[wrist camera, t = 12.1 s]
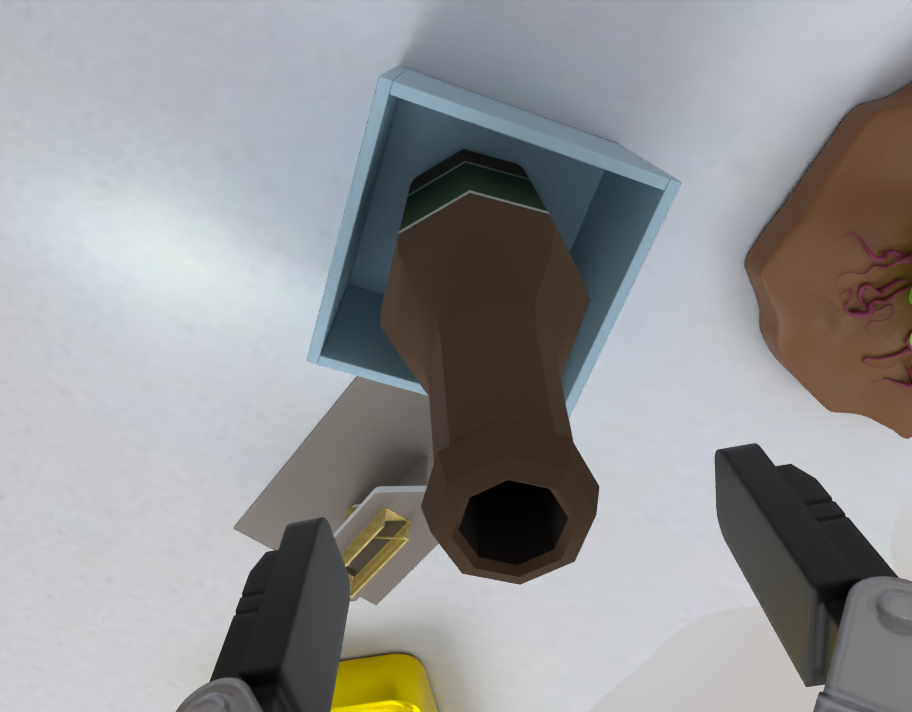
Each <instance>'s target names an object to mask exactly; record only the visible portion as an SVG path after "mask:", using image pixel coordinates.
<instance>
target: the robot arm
mask: <svg viewBox="0 0 912 712" xmlns="http://www.w3.org/2000/svg"><path fill="white" fill-rule="evenodd" d="M715 481H716V510H717V517H718V522H719V526H720V529H721V532H722V535H723V537H724V539H725V541H726V543H727V545H728V547H729V549H730V551H731V552H732V554H733V556H734V558H735V560H736V561H737V563H738V565H739V567H740V569H741V570H742V572H743V574H744V576H745V578H746V579H747V581H748V583H749V585H750V587H751V589H752V590H753V592H754V594H755V596H756V598H757V599H758V601H759V603H760V605H761V607H762V608H763V610H764V612H765V614H766V616H767V617H768V619H769V621H770V623H771V625H772V626H773V628H774V630H775V632H776V633H777V635H778V637H779V639H780V641H781V643H782V645H783V646H784V648H785V650H786V652H787V654H788V655H789V657H790V659H791V661H792V663H793V664H794V666H795V668H796V670H797V672H798V673H799V675H800V677H801V679H802V680H803V682H804V684H805V686H806V687H810V686H817V685H824V684H825V687H824V691H823V692H819V695H818V697H817V700H816V704H815V708H814V711H813V712H912V581H909V580H906V579H901V578H899V577H898V576H897V575H896V574H895V573H894V571H893V570H892V569H891V568H890V567H889V565H888V564H887V563H886V562H885V561H884V560H883V558H882V557H881V556H880V555H879V554H878V552H877V551H876V550H875V549H874V548H873V546H872V545H871V544H870V543H869V542H868V540H867V539H866V538H865V537H864V536H863V534H862V533H861V532H860V531H859V530H858V528H857V527H856V526H855V525H854V524H853V522H852V521H851V520H850V519H849V518H848V517H847V518H846V516H845V513H844V512H843V511H842V509H841V508H840V507H839V506H838V505H837V503H836V502H835V501H834V502H833V501H832V497H831V496H830V495H829V494H828V493H827V491H826V490H825V489H824V488H823V487H822V485H821V484H820V483H819V482H818V481H817V480H816V478H814V477H812V476H811V475H809V474H807V473H805V472H804V471H802V470H800V469H799V468H797V467H795V466H794V465H792V464H787V465H781V466H775V465H774V464H773V463H772V461H771V460H770V459H769V457H768V456H767V455H766V454H765V452H764V451H763V450H762V448H761V447H760V446H759V445H758V444H756V443H753V444H747V445H742V446H736V447H730V448H724V449H718V450H717V451H716V453H715ZM349 601H350V584H349V577H348V573H347V569H346V567H345V564H344V561H343V559H342V556H341V553H340V551H339V548H338V545H337V543H336V540H335V538H334V535H333V532H332V530H331V527H330V524H329V522H328V520H327V519H326V518H325V517H320V518H314V519H308V520H303V521H297V522H291V523H289V524H288V525H287V526H286V528H285V531H284V534H283V537H282V540H281V543H280V546H279V550H275V551H269V552H266V553H265V554H264V556H263V557H262V558H261V559H260V560H259V562H258V563H257V564H256V565H255V567H254V568H253V569H252V570H251V572H250V573H249V576H248V579H247V581H246V584H245V587H244V590H243V592H242V598H240V601H239V603H238V606H237V609H236V616H234V617H233V620H232V622H231V625H230V628H229V630H228V633H227V636H226V639H225V641H224V644H223V647H222V649H221V652H220V655H219V658H218V660H217V663H216V666H215V668H214V671H213V674H212V677H211V679H210V682H209V683H207V684H205V685H203V686H202V687H200V688H198V689H197V690H196V691H194V692H193V693H192V694H191V695H190V696H189V697H187V698H186V699H185V700H184V702H183V703H182V704H181V705H180V706H179V708H178V709H177V711H176V712H331V706H332V700H333V694H334V688H335V683H336V677H337V671H338V665H339V659H340V654H341V648H342V642H343V636H344V630H345V625H346V619H347V613H348V607H349Z"/></svg>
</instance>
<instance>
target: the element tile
mask: <svg viewBox="0 0 912 712" xmlns="http://www.w3.org/2000/svg"><path fill="white" fill-rule="evenodd" d="M331 712H438V709H437V706H436V703H435V700H434V697H433V693H432V690H431V687H430V684H429V680H428V677H427V674H426V671H425V669H424V667H423V665H422V663H421V662H420V661H419V660H418V659H416V658H414V657H412V656H410V655H405V654H388V655H381V656H374V657H367V658H360V659H353V660H346V661H339V665H338V671H337V677H336V683H335V688H334V694H333V700H332V706H331Z"/></svg>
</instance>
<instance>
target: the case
mask: <svg viewBox="0 0 912 712" xmlns="http://www.w3.org/2000/svg"><path fill="white" fill-rule="evenodd" d="M462 149H465V150H469V151H472V152H476V153H480V154H483V155H487V156H490V157H494V158H498V159H501V160H505V161H508V162H512V163H516V164H519V165H520V166H521V167H522V168H523V169H524V171H525V173H526V174H527V176H528V178H529V180H530V181H531V183H532V185H533V186H534V188H535V190H536V192H537V193H538V195H539V197H540V199H541V200H542V202H543V204H544V205H545V207H546V209H547V211H548V212H549V214H550V216H551V218H552V220H553V222H554V224H555V226H556V228H557V230H558V232H559V233H560V235H561V237H562V239H563V241H564V243H565V245H566V247H567V249H568V251H569V253H570V255H571V257H572V259H573V261H574V263H575V265H576V267H577V268H578V270H579V272H580V274H581V276H582V278H583V280H584V282H585V285H586V288H587V291H588V294H589V297H590V303H589V305H588V308H587V311H586V313H585V316H584V319H583V321H582V324H581V326H580V329H579V332H578V334H577V337H576V339H575V342H574V344H573V347H572V350H571V352H570V355H569V357H568V360H567V363H566V365H565V368H564V370H563V373H562V376H561V383H562V388H563V393H564V398H565V403H566V408H567V413H568V418H570V415H571V413H572V411H573V409H574V407H575V405H576V403H577V401H578V399H579V397H580V395H581V392H582V390H583V388H584V386H585V384H586V382H587V380H588V378H589V376H590V374H591V371H592V369H593V367H594V365H595V363H596V361H597V359H598V357H599V355H600V353H601V351H602V348H603V346H604V344H605V342H606V340H607V338H608V336H609V334H610V332H611V330H612V328H613V325H614V323H615V321H616V319H617V317H618V315H619V313H620V311H621V309H622V307H623V304H624V302H625V300H626V298H627V296H628V294H629V292H630V290H631V288H632V286H633V284H634V281H635V279H636V277H637V275H638V273H639V271H640V269H641V267H642V265H643V263H644V260H645V258H646V256H647V254H648V252H649V250H650V248H651V246H652V244H653V242H654V240H655V237H656V235H657V233H658V231H659V229H660V227H661V225H662V223H663V221H664V219H665V216H666V214H667V212H668V210H669V208H670V206H671V204H672V202H673V200H674V198H675V196H676V193H677V191H678V189H679V187H680V185H681V182H680V181H679V180H677V179H675V178H674V177H672V176H670V175H669V174H667V173H666V172H664V171H662V170H661V169H659V168H657V167H656V166H654V165H653V164H651V163H649V162H648V161H646V160H644V159H643V158H641V157H640V156H638V155H636V154H635V153H633V152H631V151H630V150H628V149H627V148H625V147H623V146H622V145H620V144H617V143H614V142H611V141H608V140H606V139H603V138H600V137H597V136H594V135H592V134H589V133H586V132H583V131H580V130H578V129H575V128H572V127H569V126H566V125H564V124H561V123H558V122H555V121H552V120H550V119H547V118H544V117H541V116H538V115H536V114H533V113H530V112H527V111H524V110H522V109H519V108H516V107H513V106H510V105H508V104H505V103H502V102H499V101H497V100H494V99H491V98H488V97H485V96H483V95H480V94H477V93H474V92H471V91H469V90H466V89H463V88H460V87H457V86H455V85H452V84H449V83H446V82H443V81H441V80H438V79H435V78H432V77H429V76H427V75H424V74H421V73H418V72H415V71H413V70H410V69H407V68H404V67H401V66H397V67H395V68H393V69H391V70H390V71H388V72H386V73H384V74H383V75H381V76H380V77H379V79H378V83H377V87H376V91H375V95H374V99H373V103H372V107H371V111H370V115H369V119H368V122H367V126H366V130H365V134H364V138H363V142H362V146H361V150H360V154H359V158H358V162H357V165H356V169H355V173H354V177H353V181H352V185H351V189H350V193H349V197H348V201H347V204H346V208H345V212H344V216H343V220H342V224H341V228H340V232H339V236H338V240H337V244H336V247H335V251H334V255H333V259H332V263H331V267H330V271H329V275H328V279H327V283H326V287H325V290H324V294H323V298H322V302H321V306H320V310H319V314H318V318H317V322H316V326H315V330H314V333H313V337H312V341H311V345H310V349H309V353H308V357H307V362H309V363H313V364H318V365H320V366H324V367H327V368H331V369H334V370H338V371H341V372H345V373H349V374H352V375H356V376H359V377H363V378H366V379H370V380H374V381H377V382H381V383H384V384H388V385H391V386H395V387H399V388H402V389H406V390H409V391H413V392H417V393H420V394H424V395H427V393H426V392H425V391H424V389H423V388H422V386H421V385H420V384H419V382H418V381H417V379H416V378H415V376H414V375H413V373H412V372H411V370H410V369H409V368H408V366H407V365H406V363H405V362H404V360H403V359H402V357H401V356H400V354H399V353H398V352H397V350H396V349H395V347H394V346H393V344H392V343H391V341H390V340H389V338H388V337H387V336H386V334H385V333H384V331H383V330H382V328H381V327H380V321H381V306H382V302H383V297H384V293H385V289H386V285H387V280H388V276H389V272H390V268H391V263H392V259H393V255H394V250H395V246H396V242H397V238H398V233H399V229H400V225H401V221H402V217H403V213H404V209H405V205H406V201H407V197H408V193H409V189H410V185H411V183H412V181H413V179H414V178H416V177H417V176H419V175H421V174H422V173H424V172H426V171H427V170H429V169H431V168H432V167H434V166H436V165H437V164H439V163H441V162H442V161H444V160H446V159H447V158H449V157H451V156H452V155H454V154H456V153H457V152H459V151H461V150H462ZM427 396H428V395H427Z"/></svg>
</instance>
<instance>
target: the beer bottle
mask: <svg viewBox="0 0 912 712" xmlns="http://www.w3.org/2000/svg"><path fill="white" fill-rule="evenodd" d="M589 303H590V297H589V294H588V291H587V288H586V285H585V282H584V280H583V278H582V276H581V274H580V272H579V270H578V268H577V267H576V265H575V263H574V261H573V259H572V257H571V255H570V253H569V251H568V249H567V247H566V245H565V243H564V241H563V239H562V237H561V235H560V233H559V232H558V230H557V228H556V226H555V224H554V222H553V220H552V218H551V216H550V214H549V212H548V211H547V209H546V207H545V205H544V204H543V202H542V200H541V199H540V197H539V195H538V193H537V192H536V190H535V188H534V186H533V185H532V183H531V181H530V180H529V178H528V176H527V174H526V173H525V171H524V169H523V168H522V167H521V166H520V165H519V164H516V163H512V162H508V161H505V160H501V159H498V158H494V157H490V156H487V155H483V154H480V153H476V152H472V151H469V150H465V149H462V150H461V151H459V152H457V153H456V154H454V155H452V156H451V157H449V158H447V159H446V160H444V161H442V162H441V163H439V164H437V165H436V166H434V167H432V168H431V169H429V170H427V171H426V172H424V173H422V174H421V175H419V176H417V177H416V178H414V179H413V181H412V183H411V185H410V189H409V193H408V197H407V201H406V205H405V209H404V213H403V217H402V221H401V225H400V229H399V233H398V238H397V242H396V246H395V250H394V255H393V259H392V263H391V268H390V272H389V276H388V280H387V285H386V289H385V293H384V297H383V302H382V306H381V321H380V327H381V328H382V330H383V331H384V333H385V334H386V336H387V337H388V338H389V340H390V341H391V343H392V344H393V346H394V347H395V349H396V350H397V352H398V353H399V354H400V356H401V357H402V359H403V360H404V362H405V363H406V365H407V366H408V368H409V369H410V370H411V372H412V373H413V375H414V376H415V378H416V379H417V381H418V382H419V384H420V385H421V386H422V388H423V389H424V391H425V392H426V393H427V395H428V396H429V402H430V416H431V429H432V443H433V457H434V465H433V468H432V471H431V474H430V478H429V481H428V484H427V487H426V491H425V494H424V497H423V500H422V504H421V509H422V511H423V514H424V516H425V519H426V521H427V524H428V527H429V529H430V532H431V534H432V535H433V536H434V537H435V539H436V540H437V541H438V543H439V544H440V545H441V547H442V548H443V549H444V550H445V552H446V553H447V554H448V556H449V557H450V558H451V559H452V561H453V562H454V563H455V565H456V566H457V567H458V569H459V570H460V571H461V572H462V573H463V574H468V575H473V576H478V577H483V578H489V579H494V580H499V581H504V582H510V583H515V584H523V583H525V582H527V581H530V580H532V579H534V578H537V577H539V576H541V575H544V574H546V573H549V572H551V571H553V570H556V569H558V568H560V567H563V566H565V565H567V564H570V563H572V562H574V561H575V560H576V557H577V555H578V553H579V551H580V549H581V547H582V544H583V542H584V540H585V538H586V536H587V534H588V531H589V529H590V527H591V525H592V523H593V521H594V519H595V516H596V512H597V503H598V494H599V485H598V483H597V482H596V480H595V478H594V477H593V475H592V473H591V472H590V470H589V468H588V467H587V465H586V463H585V461H584V460H583V458H582V456H581V455H580V453H579V451H578V450H577V448H576V446H575V445H574V443H573V438H572V433H571V428H570V423H569V418H568V413H567V408H566V403H565V398H564V393H563V388H562V383H561V376H562V373H563V370H564V368H565V365H566V363H567V360H568V357H569V355H570V352H571V350H572V347H573V344H574V342H575V339H576V337H577V334H578V332H579V329H580V326H581V324H582V321H583V319H584V316H585V313H586V311H587V308H588V305H589Z"/></svg>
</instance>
